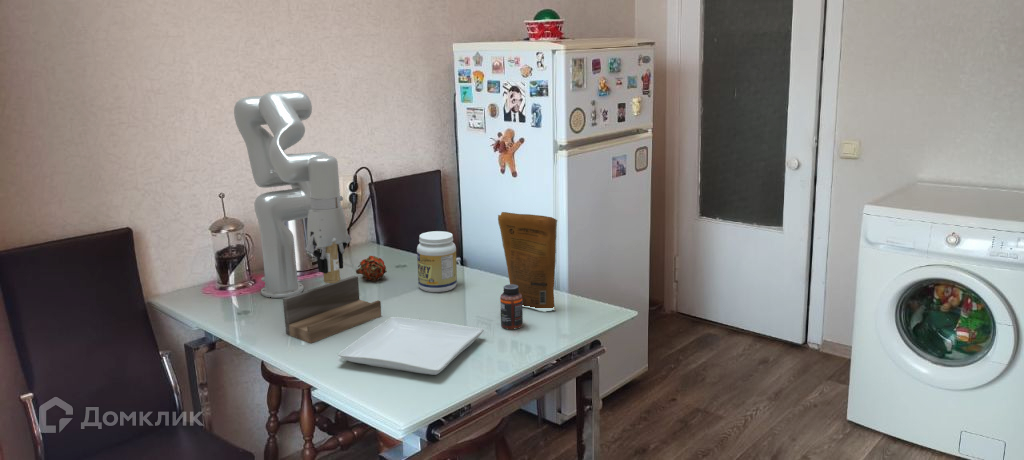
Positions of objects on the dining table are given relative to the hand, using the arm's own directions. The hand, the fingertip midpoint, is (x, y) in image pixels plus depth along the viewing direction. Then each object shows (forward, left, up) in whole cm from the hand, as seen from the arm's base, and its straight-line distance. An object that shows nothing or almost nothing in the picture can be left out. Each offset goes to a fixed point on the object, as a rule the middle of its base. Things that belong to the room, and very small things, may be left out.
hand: (330, 269), depth 196 cm
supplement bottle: (+39, +28, -16) cm, 51 cm away
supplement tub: (0, +40, -16) cm, 43 cm away
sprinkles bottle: (0, 0, -4) cm, 4 cm away
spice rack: (0, 0, -16) cm, 16 cm away
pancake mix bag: (+34, +43, -16) cm, 57 cm away
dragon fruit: (-23, +33, -16) cm, 43 cm away
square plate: (+30, 0, -17) cm, 35 cm away
